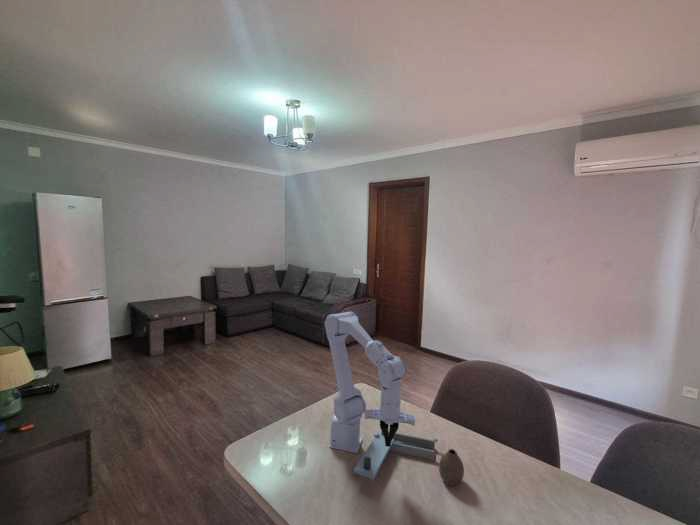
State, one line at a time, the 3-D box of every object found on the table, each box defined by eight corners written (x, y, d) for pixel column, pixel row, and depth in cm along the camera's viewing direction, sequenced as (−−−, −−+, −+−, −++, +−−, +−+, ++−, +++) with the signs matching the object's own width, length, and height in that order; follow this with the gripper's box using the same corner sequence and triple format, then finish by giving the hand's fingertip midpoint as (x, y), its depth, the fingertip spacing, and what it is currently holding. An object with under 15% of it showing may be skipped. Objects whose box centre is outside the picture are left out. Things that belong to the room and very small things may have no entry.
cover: (375, 436, 106) (375, 426, 106) (393, 442, 103) (394, 431, 103) (352, 471, 89) (352, 459, 89) (373, 479, 87) (374, 467, 86)
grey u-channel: (373, 447, 104) (374, 437, 104) (377, 436, 111) (377, 426, 110) (436, 461, 99) (437, 450, 99) (436, 448, 105) (437, 437, 105)
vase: (464, 492, 88) (466, 462, 87) (438, 486, 89) (440, 457, 88) (461, 474, 94) (463, 446, 94) (437, 469, 96) (439, 442, 95)
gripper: (364, 403, 88) (361, 449, 89) (416, 410, 86) (413, 457, 87) (366, 391, 95) (364, 434, 96) (415, 397, 93) (412, 441, 94)
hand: (387, 444), depth 92 cm, fingers closed
